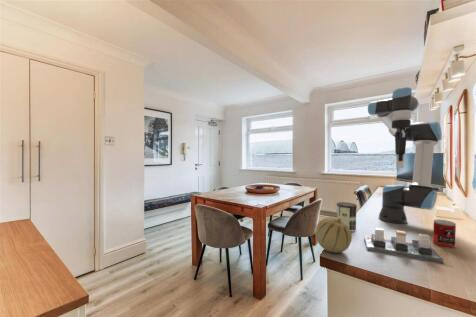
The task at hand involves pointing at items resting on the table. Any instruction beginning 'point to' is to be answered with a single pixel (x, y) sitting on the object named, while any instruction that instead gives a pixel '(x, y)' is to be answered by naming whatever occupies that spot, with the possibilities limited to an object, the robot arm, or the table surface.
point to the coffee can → (347, 214)
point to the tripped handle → (401, 237)
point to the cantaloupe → (333, 235)
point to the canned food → (444, 233)
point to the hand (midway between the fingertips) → (399, 167)
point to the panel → (410, 249)
